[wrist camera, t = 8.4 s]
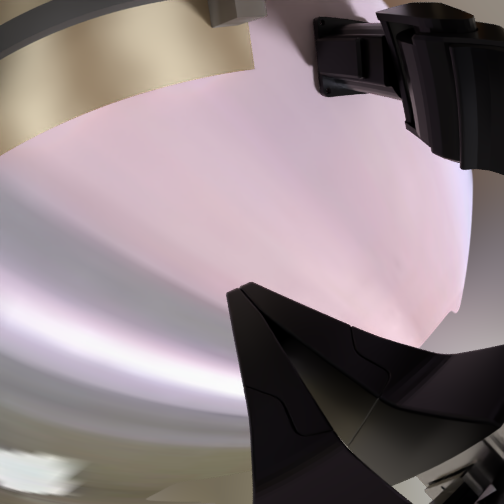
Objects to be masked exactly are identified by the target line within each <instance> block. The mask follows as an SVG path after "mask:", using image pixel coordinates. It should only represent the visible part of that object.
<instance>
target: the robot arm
mask: <svg viewBox="0 0 504 504" xmlns="http://www.w3.org/2000/svg"><path fill="white" fill-rule="evenodd" d="M375 13H376V15H377V18H378V20H380V22H381V23H368V22H362V21H355V20H348V19H340V18H331V17H316V18H315V19H314V22H313V23H314V31H315V40H316V50H317V60H318V71H319V83H320V93H321V95H322V96H325V97H334V96H344V95H354V94H367V93H370V94H375V95H380V96H384V97H389V98H393V99H397V100H401V101H402V103H403V108H404V113H405V118H406V121H405V125H406V129H407V130H409V131H410V132H411V133H413V134H414V135H416V136H417V137H418V138H420V139H421V140H422V141H423V142H424V143H426V144H427V145H428V146H429V147H431V151H432V153H434V154H435V155H438V156H440V157H442V158H444V159H448V160H451V161H454V162H457V163H460V168H461V169H462V170H469V169H482V170H490V171H493V172H496V173H499V174H502V175H504V28H502V27H501V26H498V25H494V24H489V23H482V22H476V21H475V18H474V15H472V14H470V13H467V12H465V11H462V10H460V9H457V8H454V7H451V6H448V5H446V4H443V3H435V2H428V3H427V2H419V3H418V2H417V3H415V2H414V3H408V4H404V5H400V6H396V7H392V8H388V9H385V10H381V11H378V12H375ZM320 21H321V23H322V24H320ZM326 89H327V90H328V91H327V93H326ZM226 297H227V302H228V308H229V314H230V319H231V325H232V330H233V336H234V341H235V347H236V352H237V357H238V362H239V368H240V373H241V378H242V383H243V387H244V394H245V399H246V404H247V410H248V416H249V427H250V440H251V460H252V479H253V504H412V503H411V502H410V501H409V500H407V499H406V498H405V497H404V496H402V495H401V494H400V493H399V492H397V491H396V490H395V489H394V488H393V487H392V486H393V485H395V484H398V483H400V482H403V481H405V480H408V479H410V478H412V477H414V476H417V477H418V478H419V480H420V481H421V482H422V483H423V484H424V485H425V486H426V487H427V488H426V489H425V492H426V493H427V494H428V495H429V497H430V498H431V499H432V500H433V501H432V502H431V503H429V504H504V345H499V346H495V347H490V348H485V349H480V350H475V351H469V352H464V353H458V354H439V353H434V352H430V351H426V350H422V349H419V348H415V347H412V346H408V345H404V344H401V343H397V342H394V341H391V340H388V339H385V338H382V337H379V336H376V335H374V334H371V333H368V332H366V331H363V330H361V329H359V328H356V327H354V326H352V327H351V326H350V325H349V324H347V323H344V322H342V321H339V320H337V319H335V318H333V317H330V316H328V315H326V314H323V313H321V312H319V311H316V310H314V309H312V308H310V307H307V306H305V305H303V304H300V303H298V302H296V301H294V300H291V299H289V298H287V297H285V296H282V295H280V294H278V293H276V292H274V291H271V290H269V289H267V288H265V287H262V286H260V285H258V284H256V283H254V282H249V283H247V284H245V285H242V286H240V288H236V289H234V290H231V291H229V292H227V293H226ZM333 430H334V431H333ZM338 436H339V437H340V438H341V439H340V438H339V437H338ZM341 440H342V441H343V442H344V443H345V444H346V445H347V446H348V448H349V449H350V450H351V451H352V452H353V453H354V454H353V453H352V452H351V451H350V450H349V449H348V448H347V447H346V446H345V444H344V443H343V442H342V441H341Z"/></svg>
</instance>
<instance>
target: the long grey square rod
mask: <svg viewBox="0 0 504 504" xmlns="http://www.w3.org/2000/svg"><path fill="white" fill-rule="evenodd" d="M162 1H167V0H52V1H49V2H47V3H44V4H42V5H40V6H38V7H35V8H33V9H31V10H29V11H27V12H25V13H23V14H21V15H19V16H17V17H15V18H13V19H11V20H9V21H7V22H5V23H4V24H2V25H0V60H1V59H3V58H4V57H6V56H8V55H10V54H12V53H14V52H15V51H17V50H19V49H21V48H23V47H25V46H27V45H29V44H31V43H33V42H35V41H37V40H40V39H42V38H44V37H46V36H49V35H51V34H53V33H56V32H58V31H60V30H63V29H65V28H68V27H71V26H73V25H76V24H79V23H82V22H85V21H87V20H90V19H93V18H97V17H100V16H103V15H106V14H110V13H113V12H117V11H121V10H125V9H129V8H133V7H137V6H141V5H146V4H151V3H156V2H162Z"/></svg>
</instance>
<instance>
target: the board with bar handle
mask: <svg viewBox="0 0 504 504" xmlns="http://www.w3.org/2000/svg"><path fill="white" fill-rule="evenodd" d="M49 1H52V0H0V25H2V24H4V23H5V22H7V21H9V20H11V19H13V18H15V17H17V16H19V15H21V14H23V13H25V12H27V11H29V10H31V9H33V8H35V7H38V6H40V5H42V4H44V3H47V2H49ZM263 17H267V11H266V5H265V0H167V1H162V2H156V3H151V4H146V5H141V6H137V7H133V8H129V9H125V10H121V11H117V12H113V13H110V14H106V15H103V16H100V17H97V18H93V19H90V20H87V21H85V22H82V23H79V24H76V25H73V26H71V27H68V28H65V29H63V30H60V31H58V32H56V33H53V34H51V35H49V36H46V37H44V38H42V39H40V40H37V41H35V42H33V43H31V44H29V45H27V46H25V47H23V48H21V49H19V50H17V51H15V52H14V53H12V54H10V55H8V56H6V57H4V58H3V59H1V60H0V156H1V155H2V154H4V153H6V152H7V151H9V150H11V149H13V148H14V147H16V146H18V145H20V144H22V143H24V142H25V141H27V140H29V139H31V138H33V137H35V136H37V135H39V134H41V133H43V132H45V131H47V130H49V129H51V128H53V127H55V126H58V125H60V124H62V123H64V122H66V121H69V120H71V119H73V118H76V117H78V116H80V115H83V114H85V113H88V112H90V111H93V110H95V109H98V108H101V107H103V106H106V105H109V104H111V103H114V102H117V101H120V100H123V99H126V98H129V97H132V96H135V95H138V94H142V93H145V92H148V91H152V90H155V89H159V88H162V87H166V86H170V85H174V84H178V83H182V82H186V81H190V80H195V79H200V78H204V77H209V76H214V75H220V74H225V73H231V72H237V71H244V70H251V69H255V68H254V61H253V54H252V47H251V40H250V33H249V26H248V22H250V21H253V20H257V19H260V18H263Z"/></svg>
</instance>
